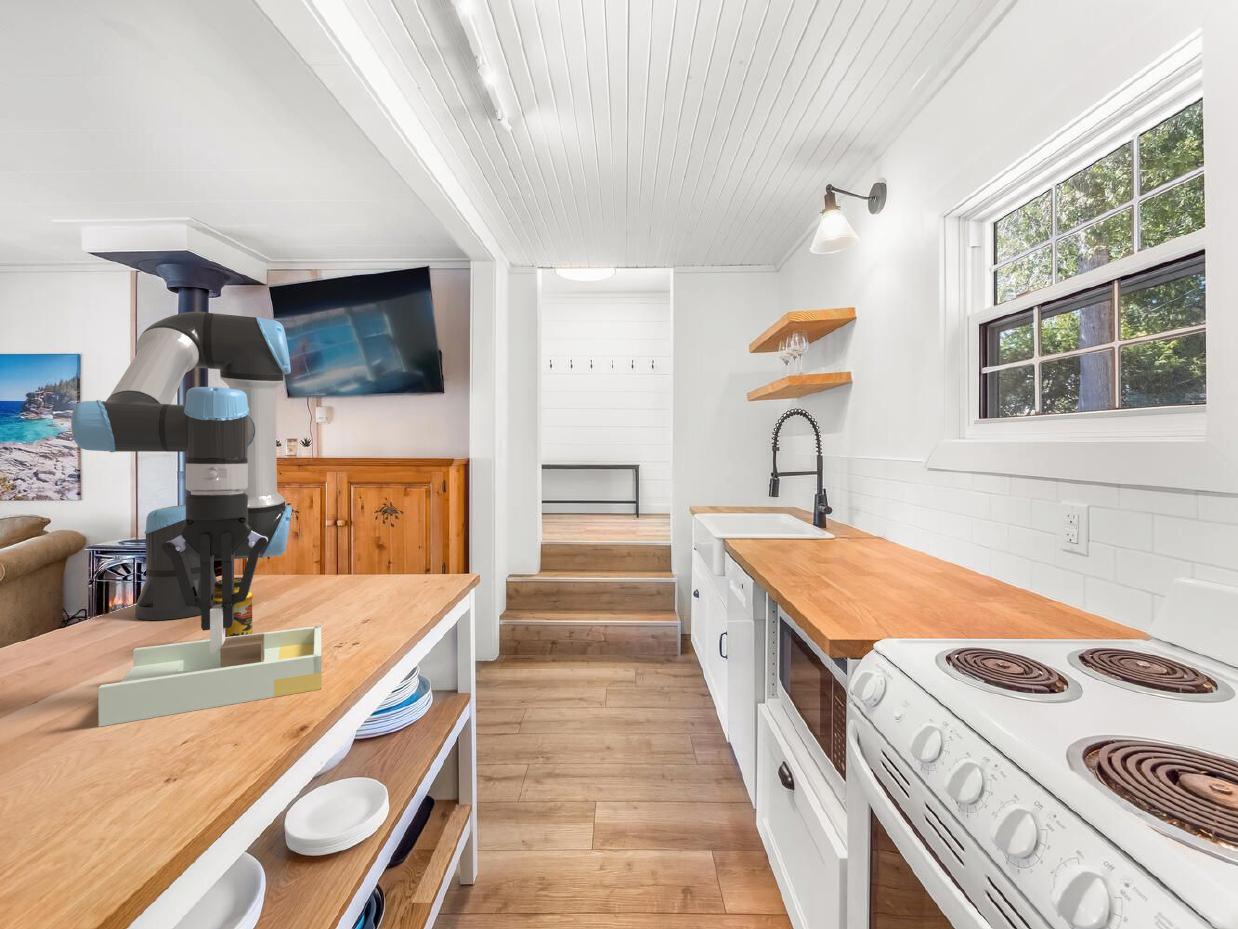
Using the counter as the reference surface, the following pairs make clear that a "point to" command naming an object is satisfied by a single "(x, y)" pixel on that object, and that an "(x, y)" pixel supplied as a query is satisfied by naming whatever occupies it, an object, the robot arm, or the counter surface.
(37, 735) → the counter surface
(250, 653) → the block
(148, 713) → the box
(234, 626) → the condiment
